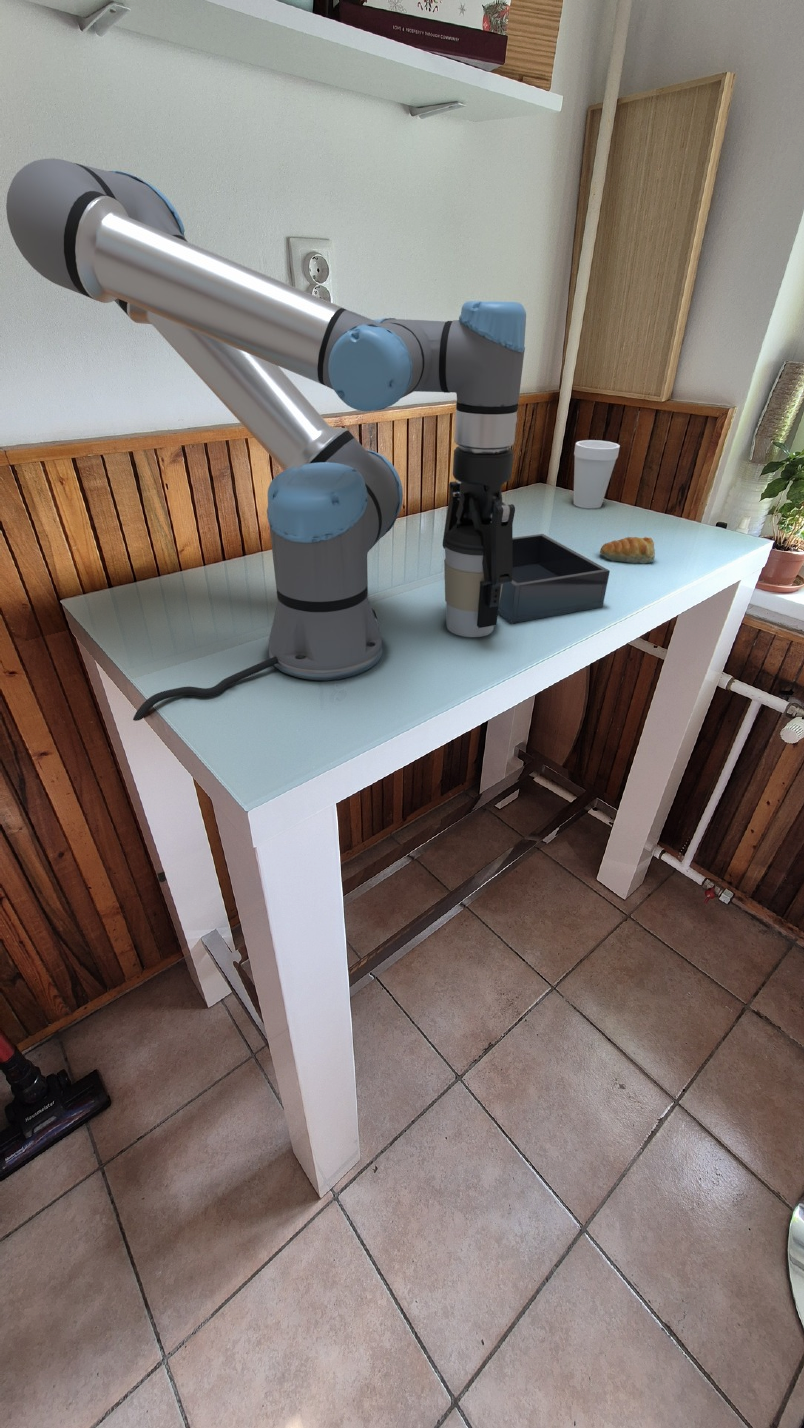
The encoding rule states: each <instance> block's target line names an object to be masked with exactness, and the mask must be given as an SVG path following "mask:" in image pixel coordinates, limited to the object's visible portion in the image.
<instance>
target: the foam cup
mask: <svg viewBox="0 0 804 1428" xmlns="http://www.w3.org/2000/svg"><path fill="white" fill-rule="evenodd" d="M620 447H621V445H620V444H619V443H616V442H612V441H609V440H599V439H598V440H597V439H596V440H595V439H585V440H579V441H578V440H577V441H576V442H575V445H574V450H573V451H574V452H573V456H574V465H573V466H574V467H573V468H574V469H573V470H574V471H573V502H572V503H573V505H574V506H576V507H577V508H583V509H599V508H601V507H602V505H603V502H604V499H605V496H606V493H607V490H608V487H609V482H610V479H611V477H612V474H613V471H614V468H615V464H616V461H617V459H618V458H619V452H620Z"/></svg>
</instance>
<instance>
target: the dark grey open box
mask: <svg viewBox="0 0 804 1428" xmlns="http://www.w3.org/2000/svg"><path fill="white" fill-rule="evenodd" d="M610 572H611V571H610V570H609V569H608V568H606V567H604V566H602V565H600V564H598V563H597V562H595V561H594V560H591V559H589V558H588V557H586V556H584V555H582V554H581V553H578V552H577V551H575V550H573V549H571V548H569V547H568V546H567V545H564V544H562V543H561V542H558V541H557V540H555V539H553V538H551V537H549V535H546V534H544V533H539V534H537V533H536V534H531V535H524V536H523V535H522V536H516V537H513V579H512V582H511V583H505V584H503V586H502V591H501V597H500V602H499V605H498V615H500V616H501V617H502V618H503V619H504V620H506V621H507V622H509V623H510V624H512V625H513V624H518V623H523V622H529V621H533V620H539V619H545V618H550V617H556V616H561V615H566V614H573V613H577V612H582V611H583V612H584V611H588V610H595V609H600V608H603V607H604V602H605V598H606V591H607V588H608V581H609V576H610Z"/></svg>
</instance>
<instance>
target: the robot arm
mask: <svg viewBox="0 0 804 1428" xmlns="http://www.w3.org/2000/svg"><path fill="white" fill-rule="evenodd" d="M5 204H6V205H5V208H6V210H5V211H6V219H7V223H8V228H9V232H10V235H11V236H12V239H13V241H14V243H15V245H16V247H17V250H18V251H19V252H20V253H21V256H22V257H23V258H24V259H25V260H26V261H27V263H28V264H29V266H30V267H31V268H32V269H33V270H35V271H36V272H37V273H38V274H40V276H42V277H43V278H45V279H46V280H48V281H49V282H51V283H53V284H55V285H57V286H59V287H62V288H64V289H67V290H70V291H73V292H74V293H77V294H80V295H82V296H85V297H87V298H89V299H91V300H93V301H96V302H99V303H102V304H109V303H112V302H115V304H116V305H117V306H118V307H119V308H120V309H121V310H122V311H123V312H124V313H125V314H126V315H127V316H128V318H129V319H130V320H131V321H132V322H134V323H135V324H143V325H152V327H153V328H154V329H155V330H156V331H157V332H158V333H159V334H160V335H161V336H162V337H163V339H164V340H165V342H167V343H168V344H169V345H170V347H171V348H173V350H174V351H175V352H176V353H177V354H178V355H179V357H180V358H182V360H183V361H184V362H185V363H186V364H187V365H188V366H189V368H191V370H192V371H193V372H194V373H195V374H196V375H197V376H198V377H199V378H200V380H202V382H203V383H204V384H205V385H206V386H207V387H208V389H210V391H211V392H212V393H213V394H214V395H215V396H216V397H217V398H218V400H219V401H220V402H221V403H222V404H223V405H224V406H225V407H226V408H227V409H228V410H229V412H230V413H231V414H232V415H233V417H235V418H236V419H237V421H239V423H240V425H242V426H243V427H244V428H245V429H246V430H247V431H248V433H249V434H250V435H251V436H252V437H253V438H254V439H255V440H256V441H257V443H258V444H259V445H260V446H261V447H262V449H264V450H265V451H266V452H267V454H269V456H270V457H271V458H272V459H273V460H274V461H275V462H276V464H277V465H278V466H279V467H280V469H282V470H283V471H281V472H280V473H278V474H277V475H276V476H275V477H274V478H273V479H272V480H271V481H270V483H269V486H268V489H267V507H266V515H267V516H266V517H267V522H268V526H269V535H270V543H271V552H272V561H273V570H274V571H273V572H274V580H275V587H276V588H275V589H276V598H277V599H276V600H277V604H276V607H275V612H274V616H273V621H272V624H271V629H270V633H269V637H268V647H267V649H268V655H269V656H268V657H269V658H268V659H265V660H263V661H261V662H259V663H257V664H255V665H254V664H253V665H252V666H250V667H247V668H245V669H242V670H241V671H238V672H236V673H234V674H231V675H230V676H227V677H226V678H224V679H222V680H221V681H219V682H218V683H217V684H216V685H214V686H211V687H206V688H203V687H197V686H181V687H177V688H171V689H167V690H163V691H160V692H157V693H155V694H153V695H151V696H150V697H149V698H147V699H146V700H145V701H144V702H143V703H142V704H141V706H140V707H139V708H138V709H137V710H136V712H135V714H134V716H133V718H132V720H133V722H137V721H141V720H143V719H144V718H145V716H146V715H147V713H148V712H149V711H150V710H151V709H152V708H153V707H154V706H155V705H156V704H158V703H159V702H162V701H164V700H167V699H171V698H175V697H180V696H184V695H190V696H191V695H192V696H197V697H198V696H199V697H210V696H215V695H218V694H220V693H221V692H223V691H224V690H225V689H226V688H228V687H229V686H231V685H233V684H235V683H237V682H239V681H242V680H244V679H247V678H249V677H251V676H253V675H255V674H257V673H259V672H262V671H264V670H266V669H268V668H271V667H273V666H274V667H275V668H276V669H277V670H278V671H280V672H282V673H283V674H286V675H289V676H291V677H295V678H298V679H304V680H311V681H331V680H339V679H346V678H349V677H353V676H356V675H359V674H362V673H364V672H366V671H367V670H369V669H372V668H373V667H375V666H376V665H377V664H378V662H379V661H380V659H381V658H382V655H383V639H382V638H383V637H382V633H381V630H380V628H379V624H378V622H377V621H378V617H377V614H376V611H375V609H373V608H372V606H371V603H370V600H369V589H368V585H369V581H368V578H369V577H368V575H369V574H368V554H369V552H370V551H371V550H372V549H373V548H374V546H375V545H376V544H377V543H378V542H379V541H380V540H381V539H382V538H383V537H384V536H386V534H387V533H388V532H389V531H391V529H393V527H394V525H395V523H396V521H397V519H398V516H399V515H400V512H401V509H402V506H403V500H404V491H403V485H402V481H401V478H400V475H399V473H398V471H397V470H396V467H395V466H394V465H393V463H392V462H391V461H390V460H389V459H387V457H385V456H384V455H382V454H381V453H378V452H376V451H373V450H369V449H365V448H364V446H362V444H361V443H360V442H359V440H358V439H357V438H356V437H355V435H353V433H352V432H351V431H350V430H349V429H348V428H346V427H337V426H336V427H334V426H332V425H330V424H329V423H328V422H327V421H326V419H324V417H323V416H322V415H321V413H319V412H318V411H317V409H316V408H315V407H314V406H313V405H312V404H311V402H309V400H308V398H306V397H305V395H304V394H303V393H302V392H301V391H300V389H299V388H298V387H297V386H296V385H295V384H294V383H293V381H292V380H291V379H290V378H289V377H288V376H287V374H286V373H285V372H284V371H283V370H282V369H284V370H287V371H288V372H292V373H294V374H297V375H298V376H301V377H304V378H306V379H308V380H311V381H313V382H315V383H318V384H320V385H323V386H325V387H327V388H329V389H330V390H332V391H334V393H335V394H336V395H337V396H338V398H339V399H340V400H341V401H342V402H343V403H344V404H345V405H346V406H348V407H350V408H351V409H354V410H355V411H359V412H360V411H361V412H376V411H382V410H385V409H386V408H389V407H392V406H393V405H395V404H397V403H398V402H399V401H400V400H401V399H403V398H405V397H407V396H409V395H410V394H412V393H415V392H416V393H417V392H422V393H423V392H424V393H444V394H445V393H446V394H450V393H455V394H456V404H455V405H456V406H455V415H454V416H455V418H454V436H453V437H454V438H453V442H454V443H455V445H456V447H455V449H454V450H453V461H452V476H453V478H454V479H455V481H450V482H449V483H448V504H447V510H446V517H445V524H444V531H443V537H442V548H443V549H444V550H445V546H444V544H443V542H444V540H445V538H444V536H445V534H446V533H447V532H448V531H450V530H451V529H452V527H453V526H454V525H455V524H458V523H460V524H461V526H467V525H474V530H475V532H477V533H478V535H479V536H480V537H481V544H482V546H483V553H484V555H483V561H482V565H483V573H484V580H485V581H480V594H479V606H478V618H477V626H478V627H479V628H483V627H488V626H493V625H494V626H497V625H498V624H497V623H498V616H499V614H498V605H499V601H500V591H501V585H502V584H505V583H511V582H512V579H513V538H514V536H513V535H514V534H513V531H514V529H513V527H514V526H513V523H514V518H515V513H516V507H515V505H514V504H513V503H512V504H506V503H505V502H504V501H503V494H502V487H503V485H504V484H505V483H508V482H509V481H510V480H511V478H512V473H513V461H514V451H513V449H512V448H511V447H512V446H513V445H514V444H515V439H516V430H517V429H516V427H517V423H518V410H519V403H520V402H519V401H520V395H521V393H520V392H521V385H522V375H523V368H524V357H525V350H526V346H525V344H526V343H525V342H526V325H527V311H526V309H525V307H524V305H523V304H521V303H520V302H517V301H501V300H500V301H495V300H493V301H492V300H491V301H487V300H486V301H485V300H483V301H482V300H469V301H465V302H464V303H463V304H462V305H461V311H460V315H459V316H458V319H455V320H454V319H453V320H446V321H443V320H426V319H405V318H404V319H403V318H395V317H392V318H391V317H388V318H387V317H386V318H385V317H384V318H379V319H372V318H369V317H367V316H364V315H361V314H360V313H357V312H355V311H353V310H349V309H346V308H345V307H342V306H340V305H337V304H336V303H333V302H331V301H329V300H327V299H323V298H321V297H319V296H316V295H315V294H311V293H309V292H308V291H305V290H303V289H300V288H298V287H295V286H293V285H290V284H289V283H285V282H284V281H281V280H278V279H277V278H274V277H271V276H269V275H267V274H265V273H262V272H260V271H258V270H255V269H253V268H251V267H247V266H245V265H243V264H241V263H238V262H236V261H234V260H231V259H229V258H227V257H224V256H222V255H219V254H217V253H214V252H212V251H211V250H210V251H209V250H208V249H205V248H203V247H200V246H199V245H196V244H193V243H191V242H188V240H187V239H186V236H185V232H186V231H185V227H184V224H183V221H182V219H181V217H180V215H179V213H178V211H177V209H176V208H175V207H174V205H173V204H172V202H171V201H170V200H169V198H168V197H167V196H165V194H164V193H163V192H162V191H160V190H159V189H158V188H157V187H155V185H152V184H151V183H149V182H147V181H145V180H143V179H142V178H140V177H137V176H134V175H133V174H131V173H128V172H123V171H119V170H104V169H101V168H97V167H92V166H89V165H83V164H80V163H76V162H72V161H69V160H65V159H62V158H53V157H52V158H41V159H37V160H33V161H31V162H29V163H28V164H26V165H24V166H23V167H22V168H21V169H20V170H19V171H17V172H16V173H15V175H14V177H13V178H12V180H11V182H10V185H9V187H8V190H7V193H6V203H5ZM281 368H282V369H281ZM487 523H491V524H488V525H482V524H487ZM491 573H492V575H491ZM156 875H157V879H158V882H159V883H165V882H166V881H167V877H166V872H165V871H162V872H158V873H157V874H156Z"/></svg>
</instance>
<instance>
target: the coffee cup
mask: <svg viewBox="0 0 804 1428" xmlns="http://www.w3.org/2000/svg"><path fill="white" fill-rule="evenodd" d="M488 524H491V523H487V524H482V525H488ZM443 537H444V538H445V540H444V542H443V541H442V545H443V544H444V546H445V549H444V560H443V564H444V565H443V566H444V567H443V568H444V601H445V607H446V610H445V613H446V628H447V630H448V631H449V632H450V633H452V634H454V635H456V636H460V637H464V638H465V637H466V638H481V637H486V636H488V635H491V634H492V633H493V631H494V628H495V625H493V626H488V627H483V628H479V627H478V626H477V618H478V606H479V594H480V581H485V580H484V573H483V565H482V561H483V555H484V553H483V546H482V544H481V537H480V536H479V535H478V533H477V532H475V530H474V525H467V526H461V524H460V523H458V524H455V525H454V526H453V527H452V529H451V530H450V531H448V532H447V533H446V534H445V536H444V535H443ZM491 575H492V573H491ZM502 586H503V584H502V585H501V591H502ZM501 591H500V597H501ZM499 602H500V601H499Z"/></svg>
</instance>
